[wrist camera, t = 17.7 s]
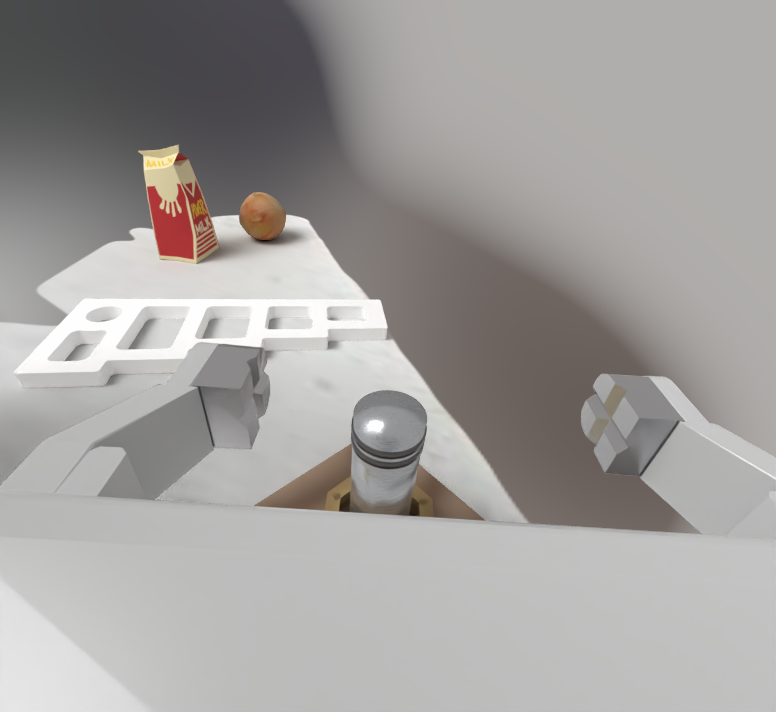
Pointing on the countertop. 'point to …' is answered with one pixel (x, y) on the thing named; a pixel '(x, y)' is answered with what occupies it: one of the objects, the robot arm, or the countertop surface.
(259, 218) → the onion
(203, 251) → the milk carton
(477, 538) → the robot arm
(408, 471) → the piston
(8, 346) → the countertop surface
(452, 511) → the ring stand
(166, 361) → the holder
